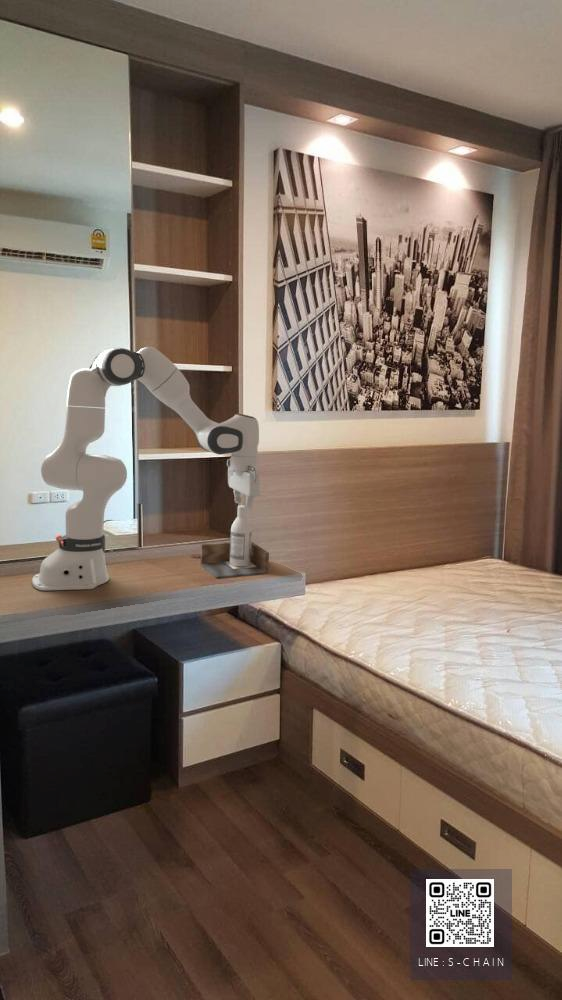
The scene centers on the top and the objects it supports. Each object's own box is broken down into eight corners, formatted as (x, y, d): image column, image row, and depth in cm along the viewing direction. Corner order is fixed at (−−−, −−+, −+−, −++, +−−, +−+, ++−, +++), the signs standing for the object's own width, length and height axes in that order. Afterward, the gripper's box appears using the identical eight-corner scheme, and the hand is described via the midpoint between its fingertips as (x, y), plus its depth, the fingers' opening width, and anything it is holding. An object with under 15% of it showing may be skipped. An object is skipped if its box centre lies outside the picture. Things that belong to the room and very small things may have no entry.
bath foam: (242, 560, 247) (244, 503, 243) (254, 565, 242) (256, 507, 238) (225, 563, 242) (227, 505, 238) (237, 568, 237) (239, 509, 233)
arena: (216, 578, 228) (216, 557, 227) (200, 564, 242) (200, 544, 241) (268, 573, 236) (269, 553, 234) (249, 560, 250) (250, 540, 248)
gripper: (265, 468, 227) (263, 511, 230) (242, 459, 245) (240, 499, 248) (246, 468, 225) (245, 512, 227) (225, 460, 243) (223, 500, 245)
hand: (242, 505), depth 238 cm, fingers open, 8 cm apart
